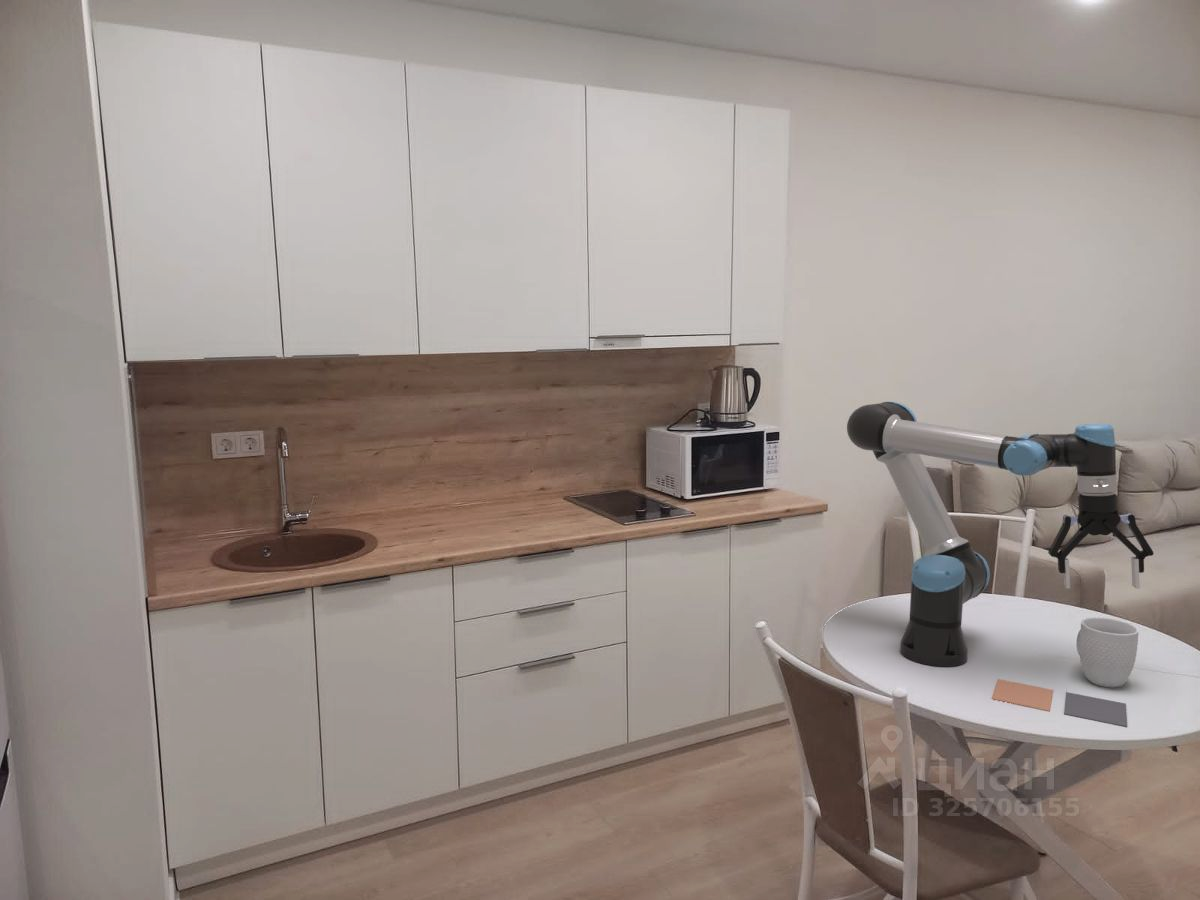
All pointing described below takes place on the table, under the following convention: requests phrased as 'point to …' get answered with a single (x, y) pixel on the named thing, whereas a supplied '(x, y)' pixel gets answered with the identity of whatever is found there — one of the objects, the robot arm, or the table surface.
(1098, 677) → the mug
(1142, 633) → the table surface
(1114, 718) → the charcoal mat
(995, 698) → the terracotta tile
